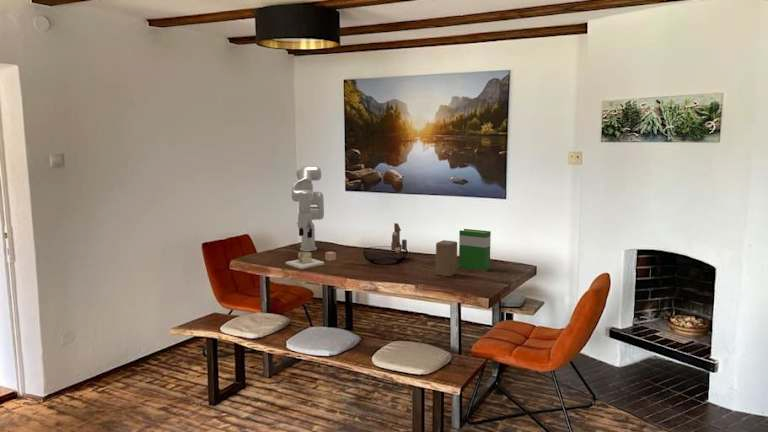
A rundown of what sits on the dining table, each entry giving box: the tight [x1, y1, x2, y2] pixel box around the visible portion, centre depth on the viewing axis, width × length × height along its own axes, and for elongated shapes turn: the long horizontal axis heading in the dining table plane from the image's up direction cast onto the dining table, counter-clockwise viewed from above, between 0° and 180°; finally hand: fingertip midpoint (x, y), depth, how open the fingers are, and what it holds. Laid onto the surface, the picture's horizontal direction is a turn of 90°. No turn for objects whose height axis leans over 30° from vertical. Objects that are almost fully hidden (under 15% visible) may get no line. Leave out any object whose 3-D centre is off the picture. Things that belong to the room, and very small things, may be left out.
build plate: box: [285, 257, 325, 270], centre depth 366 cm, size 18×18×2 cm
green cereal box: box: [458, 228, 492, 271], centre depth 351 cm, size 18×7×24 cm, turn 57°
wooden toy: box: [390, 222, 408, 259], centre depth 375 cm, size 16×7×25 cm, turn 157°
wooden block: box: [435, 239, 458, 277], centre depth 336 cm, size 10×10×20 cm
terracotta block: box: [324, 251, 337, 262], centre depth 379 cm, size 5×5×5 cm
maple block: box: [297, 251, 312, 263], centre depth 366 cm, size 6×6×6 cm
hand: (305, 236), depth 364 cm, fingers open, 9 cm apart
